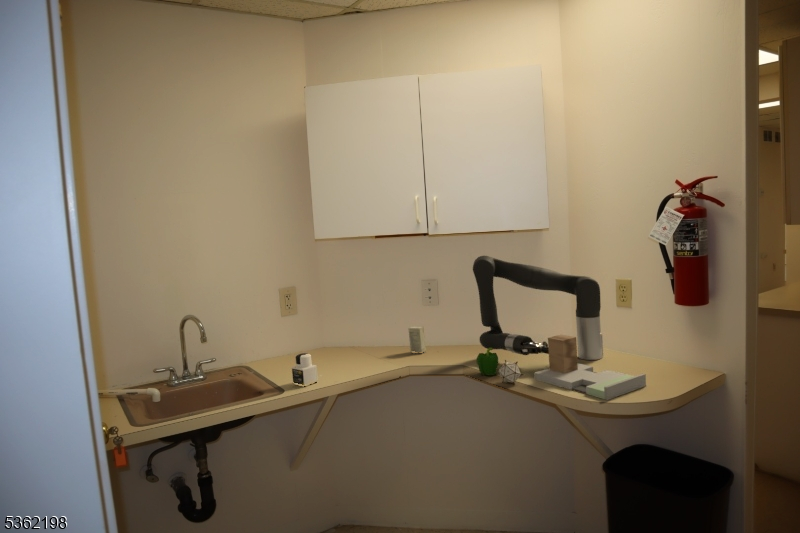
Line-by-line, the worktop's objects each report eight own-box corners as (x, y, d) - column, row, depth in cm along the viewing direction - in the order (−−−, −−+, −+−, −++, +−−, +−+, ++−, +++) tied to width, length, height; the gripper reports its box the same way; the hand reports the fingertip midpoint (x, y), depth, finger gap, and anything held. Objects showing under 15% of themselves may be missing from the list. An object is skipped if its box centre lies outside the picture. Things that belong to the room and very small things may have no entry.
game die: (510, 394, 184) (499, 377, 179) (499, 380, 192) (488, 363, 187) (530, 380, 184) (520, 363, 180) (519, 367, 192) (509, 349, 187)
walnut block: (562, 365, 193) (561, 334, 193) (577, 369, 187) (576, 337, 187) (549, 369, 190) (547, 337, 189) (564, 373, 184) (562, 340, 183)
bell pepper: (483, 378, 194) (481, 352, 193) (474, 373, 202) (472, 348, 201) (503, 375, 196) (502, 349, 195) (494, 369, 204) (492, 345, 203)
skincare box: (426, 352, 242) (424, 326, 241) (421, 354, 238) (420, 328, 237) (414, 351, 245) (412, 325, 244) (410, 353, 242) (408, 327, 241)
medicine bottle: (293, 385, 204) (290, 355, 203) (307, 380, 210) (304, 351, 209) (304, 387, 200) (301, 357, 199) (318, 382, 205) (315, 353, 204)
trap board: (571, 368, 198) (571, 358, 198) (646, 385, 172) (645, 374, 171) (534, 379, 188) (533, 368, 188) (607, 399, 161) (606, 387, 161)
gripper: (505, 337, 204) (538, 344, 189) (530, 332, 211) (563, 338, 196) (507, 356, 204) (539, 364, 190) (531, 350, 211) (564, 357, 196)
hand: (551, 351), depth 193 cm, fingers closed
